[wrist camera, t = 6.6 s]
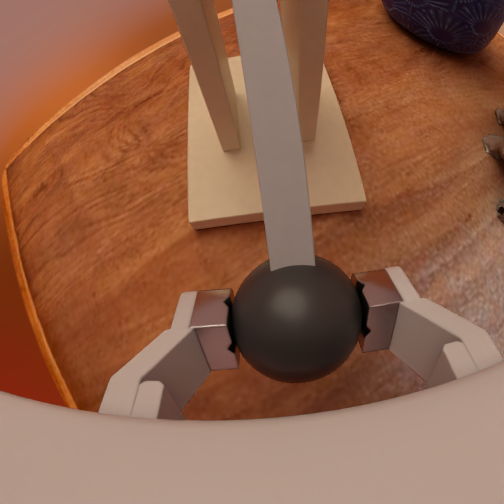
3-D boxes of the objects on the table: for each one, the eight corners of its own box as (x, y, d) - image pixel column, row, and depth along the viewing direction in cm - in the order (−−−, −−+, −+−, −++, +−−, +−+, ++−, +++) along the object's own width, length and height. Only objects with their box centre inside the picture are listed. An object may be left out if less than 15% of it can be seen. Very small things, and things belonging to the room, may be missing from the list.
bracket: (362, 209, 15) (491, -67, 1) (194, 230, 16) (-9, -12, 2) (317, 60, 18) (320, -125, 4) (193, 75, 19) (127, -99, 5)
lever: (345, 331, 10) (373, 398, 7) (245, 343, 11) (237, 415, 7) (281, -77, 6) (284, -134, 2) (188, -66, 6) (166, -120, 3)
